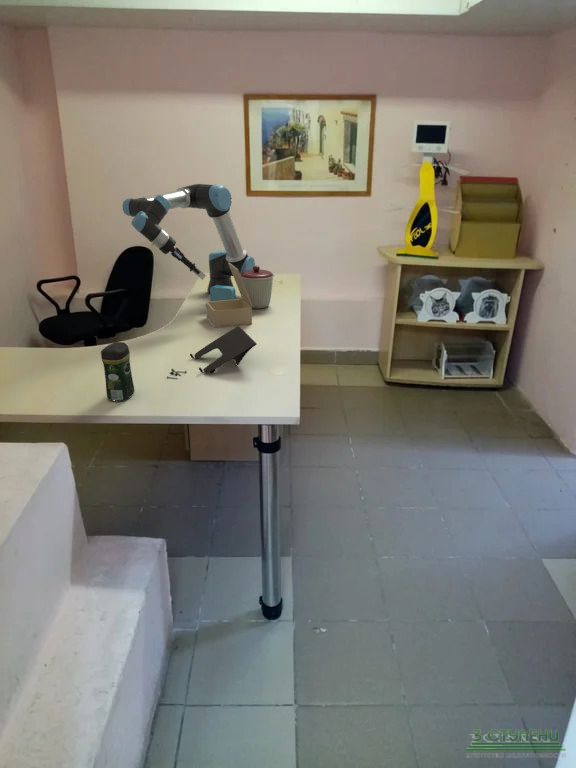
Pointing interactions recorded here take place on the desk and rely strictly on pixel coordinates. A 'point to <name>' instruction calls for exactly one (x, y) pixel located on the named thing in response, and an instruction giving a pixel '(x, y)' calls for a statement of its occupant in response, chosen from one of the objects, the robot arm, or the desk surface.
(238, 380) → the desk surface
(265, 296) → the canister
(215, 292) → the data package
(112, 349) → the coffee jar
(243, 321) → the box
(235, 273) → the mailer lid
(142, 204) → the robot arm
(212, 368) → the portable electronic device stand
